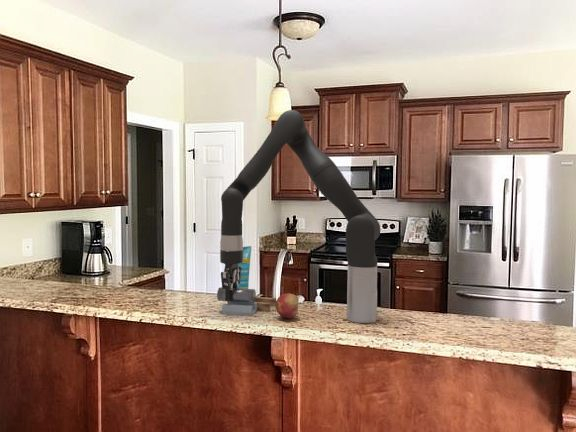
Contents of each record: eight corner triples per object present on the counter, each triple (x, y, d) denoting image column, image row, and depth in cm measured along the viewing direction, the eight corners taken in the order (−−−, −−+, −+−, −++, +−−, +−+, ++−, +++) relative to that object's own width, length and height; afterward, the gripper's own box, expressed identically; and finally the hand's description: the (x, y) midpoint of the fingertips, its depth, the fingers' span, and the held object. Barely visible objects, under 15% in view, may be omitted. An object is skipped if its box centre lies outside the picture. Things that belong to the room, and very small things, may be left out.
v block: (256, 311, 158) (257, 302, 158) (251, 316, 152) (251, 306, 152) (228, 309, 160) (228, 300, 160) (221, 313, 154) (221, 304, 154)
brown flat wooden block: (276, 305, 167) (276, 298, 167) (269, 311, 158) (269, 303, 158) (244, 303, 170) (244, 296, 170) (235, 308, 161) (235, 301, 161)
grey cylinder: (255, 301, 157) (255, 288, 157) (251, 304, 153) (251, 290, 153) (222, 299, 160) (222, 286, 160) (217, 302, 155) (217, 288, 155)
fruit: (291, 323, 144) (291, 297, 144) (270, 319, 148) (270, 294, 148) (303, 317, 151) (304, 292, 150) (283, 314, 155) (283, 290, 154)
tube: (236, 297, 179) (236, 247, 178) (230, 295, 183) (231, 246, 182) (253, 295, 183) (253, 246, 183) (247, 293, 187) (247, 245, 187)
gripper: (228, 246, 164) (228, 294, 164) (212, 250, 150) (212, 303, 151) (249, 246, 162) (248, 296, 163) (235, 251, 148) (234, 305, 149)
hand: (231, 299), depth 157 cm, fingers closed on grey cylinder, 4 cm apart
